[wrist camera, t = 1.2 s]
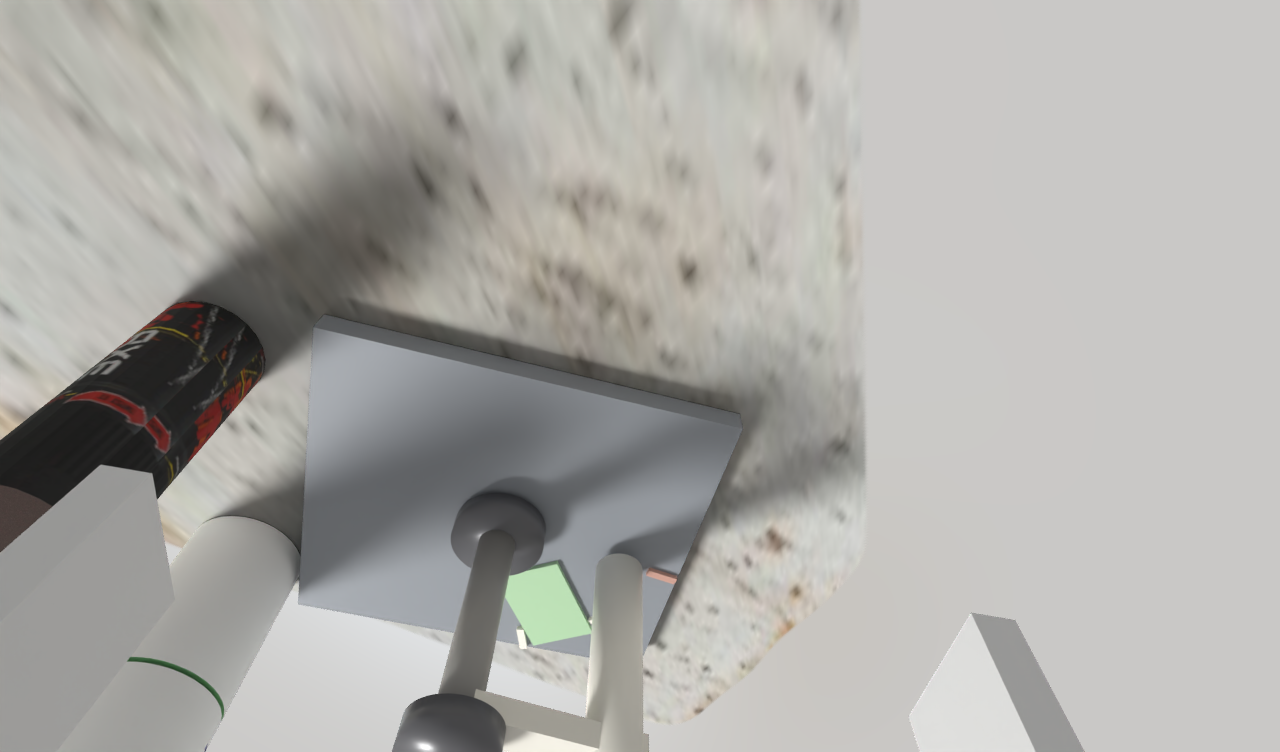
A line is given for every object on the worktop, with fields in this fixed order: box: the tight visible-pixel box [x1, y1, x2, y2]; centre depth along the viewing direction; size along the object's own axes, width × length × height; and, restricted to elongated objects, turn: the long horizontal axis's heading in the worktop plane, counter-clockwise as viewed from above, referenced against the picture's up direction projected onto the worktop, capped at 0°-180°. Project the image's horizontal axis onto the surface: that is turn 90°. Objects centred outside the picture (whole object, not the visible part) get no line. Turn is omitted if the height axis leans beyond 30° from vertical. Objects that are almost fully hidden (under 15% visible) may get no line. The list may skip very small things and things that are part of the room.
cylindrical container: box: [56, 516, 301, 752], centre depth 38 cm, size 7×7×25 cm
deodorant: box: [0, 302, 265, 552], centre depth 34 cm, size 6×6×15 cm
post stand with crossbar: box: [392, 493, 649, 752], centre depth 39 cm, size 12×6×15 cm, turn 66°
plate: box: [298, 315, 743, 658], centre depth 46 cm, size 24×22×2 cm
